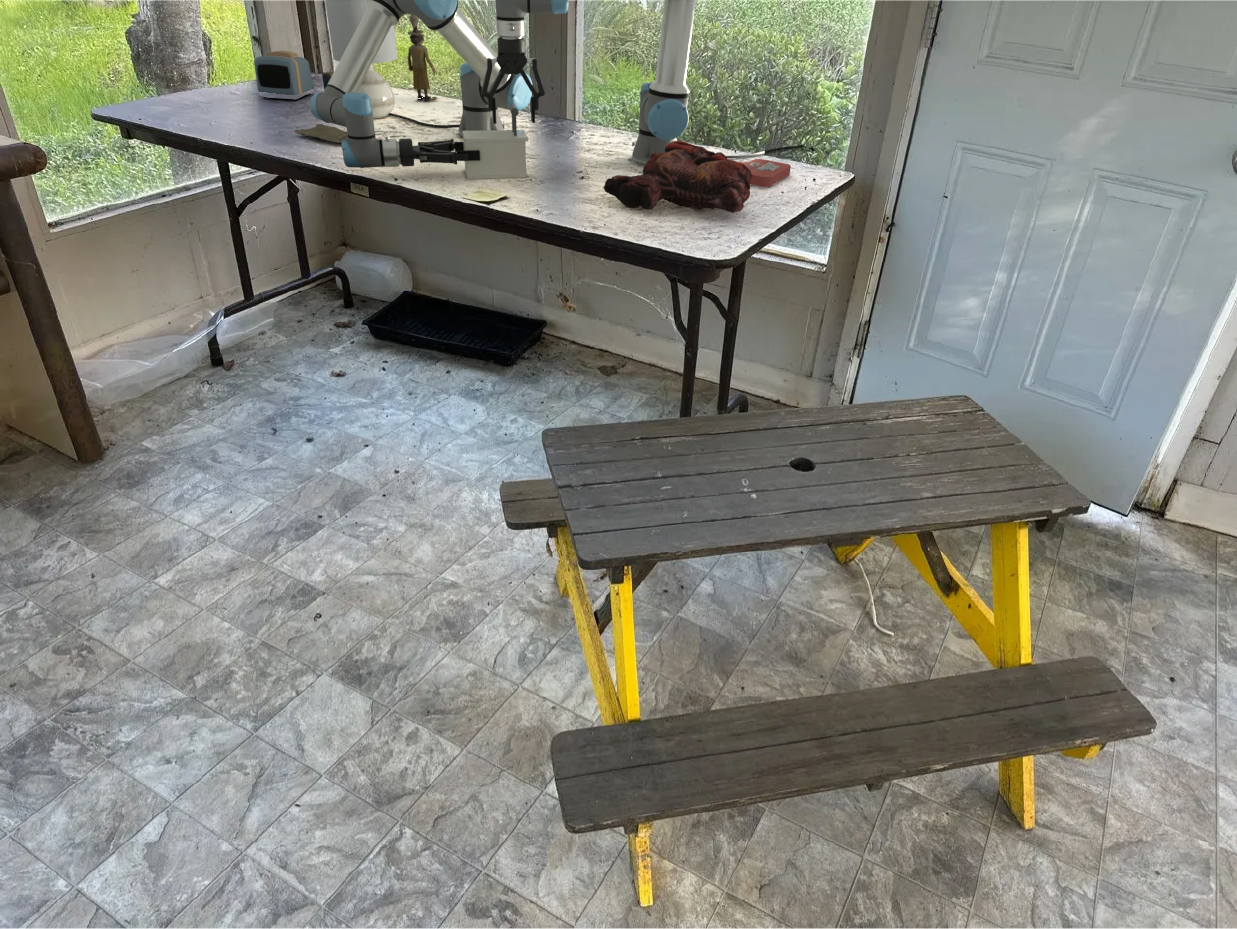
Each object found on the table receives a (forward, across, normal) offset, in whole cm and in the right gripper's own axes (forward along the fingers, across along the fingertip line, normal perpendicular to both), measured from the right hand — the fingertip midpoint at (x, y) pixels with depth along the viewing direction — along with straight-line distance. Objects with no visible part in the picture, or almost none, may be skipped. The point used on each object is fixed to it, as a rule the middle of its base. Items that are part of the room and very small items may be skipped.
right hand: (514, 122), depth 244 cm
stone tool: (+14, -55, +46) cm, 73 cm away
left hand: (+8, -11, 0) cm, 13 cm away
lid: (+4, -6, 0) cm, 7 cm away
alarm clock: (+14, -75, +116) cm, 139 cm away
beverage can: (+14, -57, +95) cm, 112 cm away
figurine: (+14, -23, +106) cm, 109 cm away
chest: (+14, -6, 0) cm, 16 cm away
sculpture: (+14, +39, -36) cm, 55 cm away
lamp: (+14, -42, +78) cm, 90 cm away
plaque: (+14, +71, -14) cm, 74 cm away
